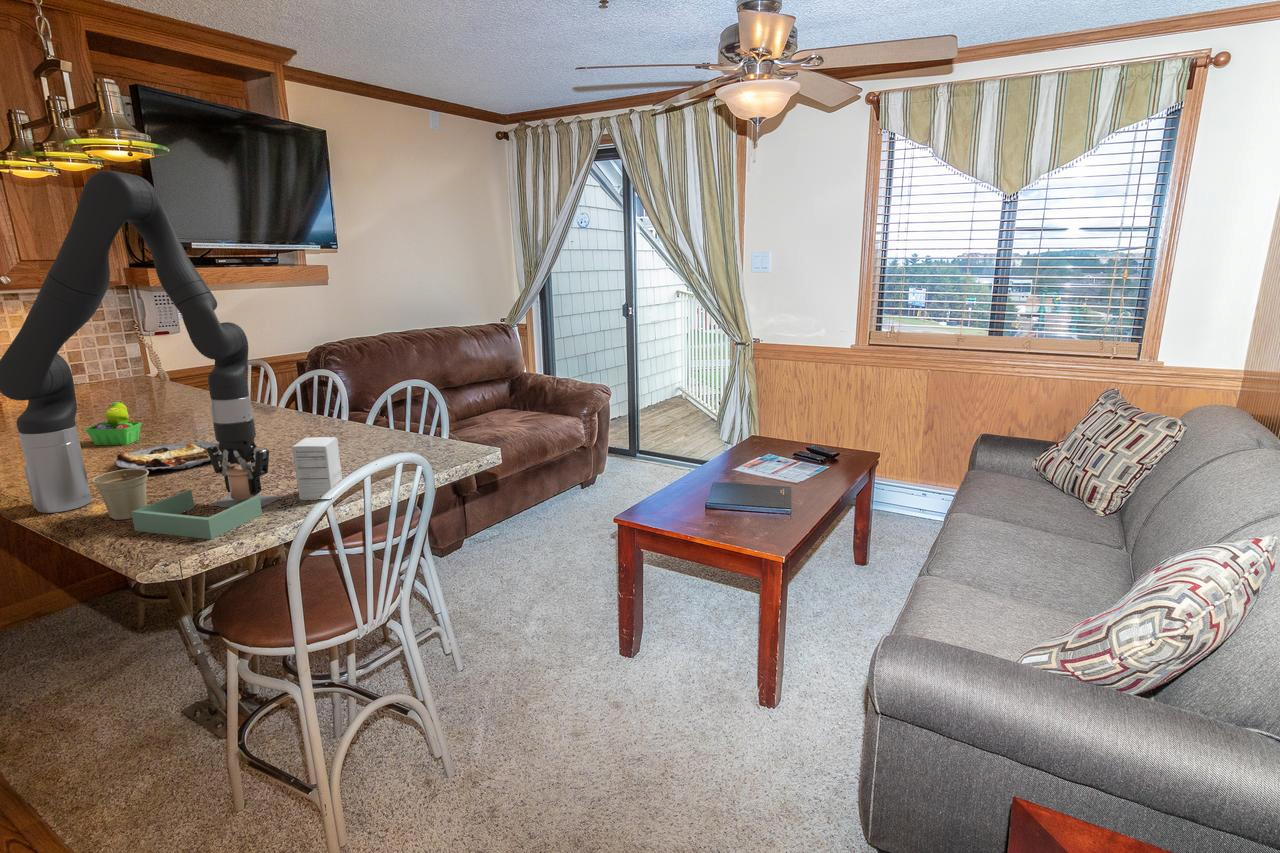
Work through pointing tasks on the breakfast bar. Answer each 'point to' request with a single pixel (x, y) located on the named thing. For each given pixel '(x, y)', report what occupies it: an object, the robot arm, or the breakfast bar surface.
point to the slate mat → (232, 502)
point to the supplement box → (316, 466)
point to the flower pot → (123, 491)
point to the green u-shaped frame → (192, 517)
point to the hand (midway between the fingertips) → (244, 492)
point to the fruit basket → (115, 428)
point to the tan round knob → (238, 483)
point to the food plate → (166, 456)
